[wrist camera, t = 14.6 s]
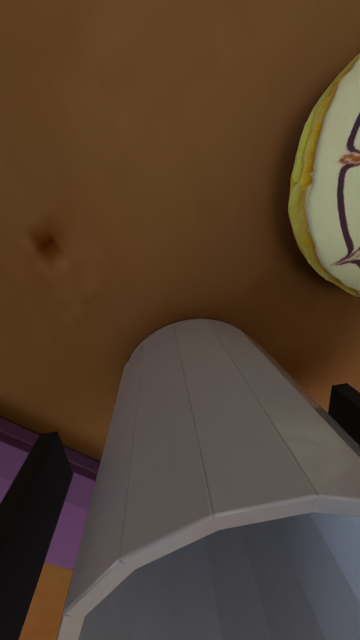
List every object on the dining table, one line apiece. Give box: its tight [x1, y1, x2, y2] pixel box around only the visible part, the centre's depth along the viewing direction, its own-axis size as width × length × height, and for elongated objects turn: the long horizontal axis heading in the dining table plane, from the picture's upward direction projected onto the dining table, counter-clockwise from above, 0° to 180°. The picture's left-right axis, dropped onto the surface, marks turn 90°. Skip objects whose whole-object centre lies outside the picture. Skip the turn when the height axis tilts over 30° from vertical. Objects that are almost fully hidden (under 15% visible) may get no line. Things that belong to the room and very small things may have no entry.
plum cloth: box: [0, 418, 100, 570], centre depth 17 cm, size 10×20×1 cm, turn 51°
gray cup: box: [57, 319, 360, 640], centre depth 10 cm, size 10×10×10 cm
